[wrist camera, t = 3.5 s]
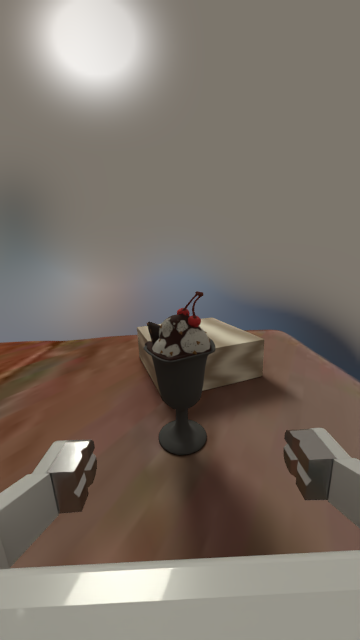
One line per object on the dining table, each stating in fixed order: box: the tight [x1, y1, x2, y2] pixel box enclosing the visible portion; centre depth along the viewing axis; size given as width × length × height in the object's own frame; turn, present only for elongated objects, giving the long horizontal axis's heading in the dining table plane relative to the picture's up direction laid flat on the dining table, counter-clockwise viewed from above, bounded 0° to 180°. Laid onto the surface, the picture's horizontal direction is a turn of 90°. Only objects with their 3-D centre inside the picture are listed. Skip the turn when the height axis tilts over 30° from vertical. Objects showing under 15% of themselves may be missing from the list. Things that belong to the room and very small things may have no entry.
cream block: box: [137, 318, 264, 395], centre depth 40 cm, size 16×16×6 cm
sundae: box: [143, 292, 216, 455], centre depth 22 cm, size 7×7×15 cm
